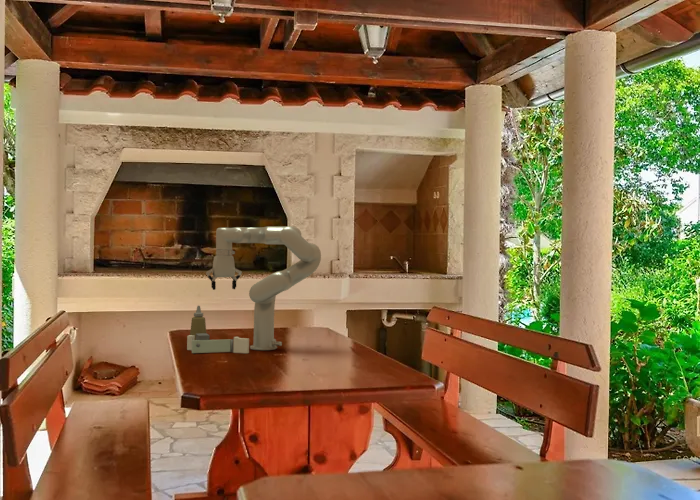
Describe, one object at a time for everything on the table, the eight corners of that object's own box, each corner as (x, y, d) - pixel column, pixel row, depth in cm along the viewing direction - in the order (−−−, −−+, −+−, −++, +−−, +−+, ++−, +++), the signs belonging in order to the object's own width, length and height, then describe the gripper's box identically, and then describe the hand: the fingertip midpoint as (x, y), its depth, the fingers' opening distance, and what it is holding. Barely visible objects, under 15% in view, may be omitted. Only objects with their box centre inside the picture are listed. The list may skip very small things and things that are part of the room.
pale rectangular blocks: (249, 352, 345) (249, 337, 345) (247, 353, 342) (247, 338, 342) (189, 349, 352) (189, 334, 352) (186, 349, 349) (187, 334, 349)
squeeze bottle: (208, 340, 380) (208, 305, 380) (203, 343, 372) (204, 306, 372) (192, 340, 381) (193, 304, 380) (187, 342, 373) (188, 306, 372)
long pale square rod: (232, 351, 346) (233, 339, 346) (233, 351, 344) (234, 339, 344) (191, 352, 340) (191, 340, 339) (192, 353, 337) (192, 341, 337)
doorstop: (206, 350, 349) (206, 333, 349) (209, 352, 342) (209, 335, 342) (195, 350, 347) (195, 333, 347) (198, 353, 341) (198, 335, 340)
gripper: (239, 253, 367) (239, 288, 368) (204, 253, 360) (204, 289, 360) (243, 253, 360) (243, 289, 361) (208, 253, 353) (207, 290, 354)
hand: (223, 289), depth 361 cm, fingers open, 9 cm apart
